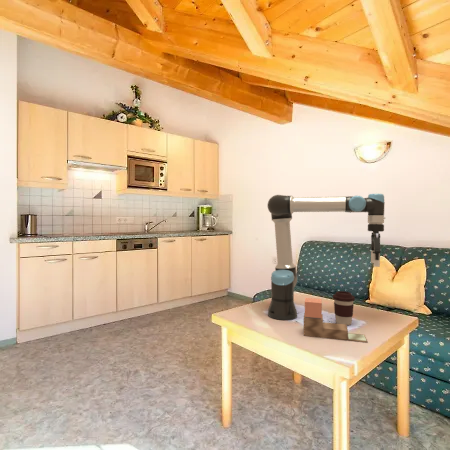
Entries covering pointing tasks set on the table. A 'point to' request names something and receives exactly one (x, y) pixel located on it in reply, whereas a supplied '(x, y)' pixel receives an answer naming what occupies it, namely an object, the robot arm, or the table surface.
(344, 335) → the stair
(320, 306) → the block
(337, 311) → the coffee cup
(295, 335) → the table surface
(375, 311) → the table surface
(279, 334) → the table surface
